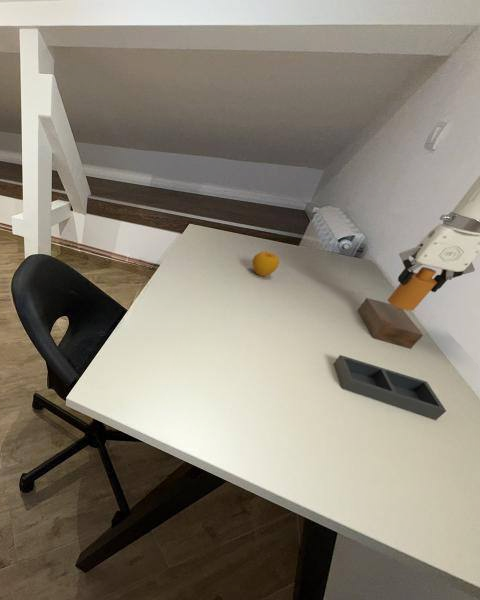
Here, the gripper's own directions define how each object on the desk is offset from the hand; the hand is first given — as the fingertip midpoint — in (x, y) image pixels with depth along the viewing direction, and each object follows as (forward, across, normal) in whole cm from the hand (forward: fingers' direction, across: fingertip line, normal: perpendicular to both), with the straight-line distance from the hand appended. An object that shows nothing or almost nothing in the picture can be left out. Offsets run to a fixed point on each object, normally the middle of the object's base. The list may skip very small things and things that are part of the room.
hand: (416, 285), depth 86 cm
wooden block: (+15, 0, 0) cm, 15 cm away
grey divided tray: (+15, -10, -33) cm, 38 cm away
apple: (+15, -34, +17) cm, 41 cm away
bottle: (+6, 0, 0) cm, 6 cm away
